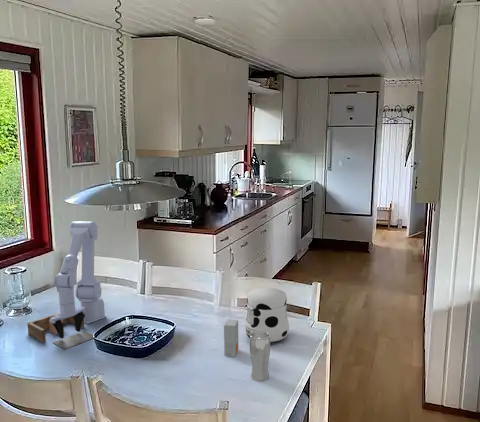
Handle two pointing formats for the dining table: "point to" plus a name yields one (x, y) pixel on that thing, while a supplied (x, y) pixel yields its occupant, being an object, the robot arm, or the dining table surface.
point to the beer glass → (260, 355)
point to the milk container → (267, 313)
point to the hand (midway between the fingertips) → (69, 334)
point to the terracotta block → (52, 328)
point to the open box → (38, 332)
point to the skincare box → (231, 338)
